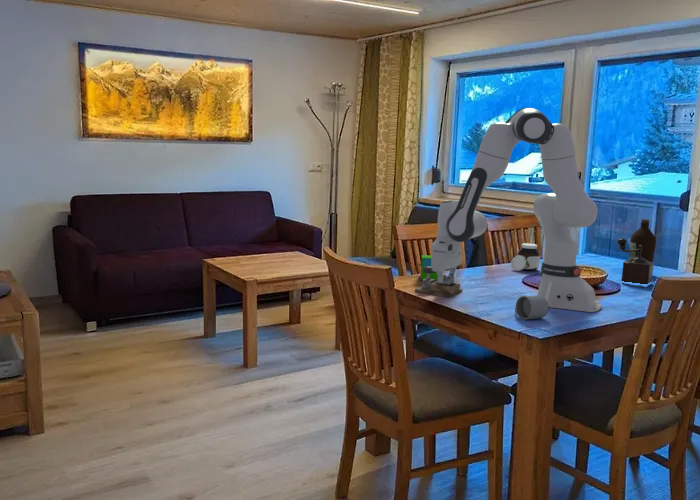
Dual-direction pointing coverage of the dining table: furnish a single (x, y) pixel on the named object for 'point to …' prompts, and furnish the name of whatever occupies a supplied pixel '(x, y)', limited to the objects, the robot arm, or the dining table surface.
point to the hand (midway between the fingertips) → (446, 280)
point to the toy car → (425, 263)
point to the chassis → (438, 288)
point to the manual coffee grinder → (636, 266)
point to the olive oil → (643, 242)
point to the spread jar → (526, 258)
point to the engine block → (447, 281)
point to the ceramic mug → (531, 307)
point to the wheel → (428, 271)
